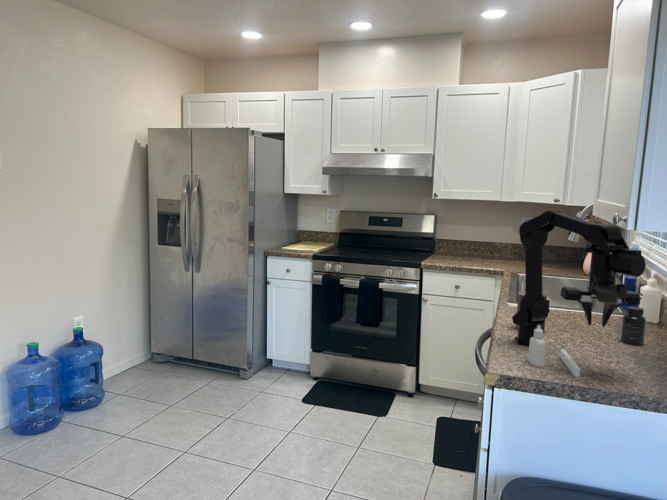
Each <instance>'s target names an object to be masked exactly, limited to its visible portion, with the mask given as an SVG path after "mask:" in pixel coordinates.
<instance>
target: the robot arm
mask: <svg viewBox="0 0 667 500" xmlns="http://www.w3.org/2000/svg"><path fill="white" fill-rule="evenodd" d="M556 227H557V228H561V229H563V230H566V231H569V232H570V233H574V234H577V235H579V236H581V237H582V239H584V240H585V241H586V242H588V243H590V245H589V246H588V247H586V248H585V249H584V252H585V253H589V254H590V255H591V256H590V268H589V269H590V270H589V271H588V276H589V277H588V278H589V280H588V286H587V288H586V289H587V290H581V289H579V288H578V287H574V286H573V287H572V286H563V287H561V290H560V297H561V298H563V299H564V300H566V301H573V302H575V301H577V302H578V303H579V304H580V305H581V306H582V307H581V308H582V309H583V311H584V315H585V318H586V321H587V325H588V326H592V321H593V320H592V319H593V318H592V317H593V316H592V315H593V314H592V309H593V304H594V303H593V302H592V301H591V299H596V300H597V301H598V302H599V303H603V309H602V315H601V316H602V318H601V325H602V327H604V328H605V327H606V325H607V323H608V322H609V320H610V317H611V315H612V314H613V313H614V311H615V310H616V309H618V308H619V307H623V304H622V301H624V303H626V305H632V306H633V305H634V306H635V305H636V306H639V305H640V304H641V296H640V294H639V293H637V292H635V291H632V290H628V285H627V284H626V283H625V284H622V283H618V284H616V283H615V275H614V273H615V274H617V275H618V274H620V275H626V276H630V277H636V278H638V277H641V276H642V275H643V274H644V272H645V270H646V266H647V263H646V260H645V258H644V256H643V255H642V250H640V249H630V247H629V245H628V244H627V242H626V240H625V239H624V237H623V234H622V231H621V228H620V227H619V226H617V225H615V224H609V223H600V222H599V223H598V222H590V221H589V220H588V221H587V220H585V219H581V218H578V217H575V216H573V215H570V214H566V213H563V212H561V211H560V210H546V211H544V212H543V213H542V214H540V215H538V216H535V217H533V218H531V219H528V220H527V221H524V222H522V224H521V225H520V226H519V230H518V233H519V239H520V243H521V244H522V247H523V248H524V249H525V250H524V251H525V260H524V261H525V264H524V265H525V269H524V270H525V271H524V272H525V291H526V292H525V295H524V297H523V299H522V301H521V304H520V310H519V311H518V312H517V311H516V313H515V314H513V316H512V317H511V319H512V323H513V324H514V325H516V324H517V325H518V330H517V336H515V337H514V339H515V341H516V344H517V345H522V346H523V345H526V346H529V345H530V338H531V337H534V329H537V325H543V324H544V321H545V322H546V319H547V318H548V317H549V313H551V310H550V300H549V299H547V300H545V298H544V296H543V295H542V293H543V249H544V247H545V245H546V243H547V241H548V237H549V236H548V235H549V233H551V232H552V231H554V230H555V228H556ZM640 306H641V305H640Z"/></svg>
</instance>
